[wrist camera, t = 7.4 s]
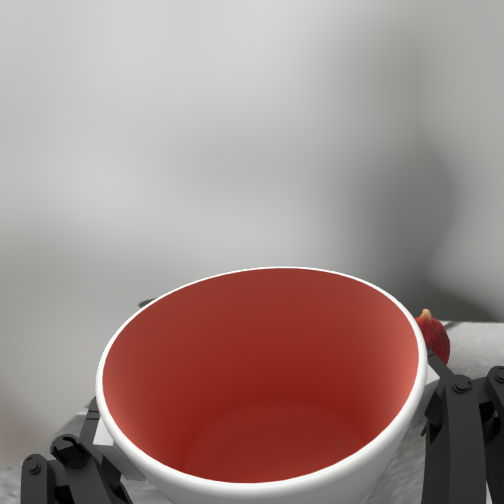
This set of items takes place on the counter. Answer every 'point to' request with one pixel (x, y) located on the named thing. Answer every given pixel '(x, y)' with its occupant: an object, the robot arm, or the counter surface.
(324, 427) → the cup
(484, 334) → the counter surface
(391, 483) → the counter surface
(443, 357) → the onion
